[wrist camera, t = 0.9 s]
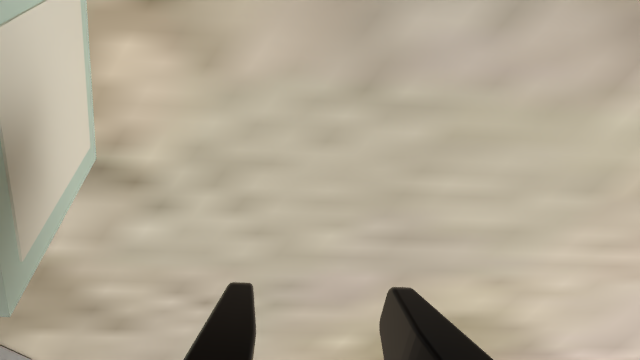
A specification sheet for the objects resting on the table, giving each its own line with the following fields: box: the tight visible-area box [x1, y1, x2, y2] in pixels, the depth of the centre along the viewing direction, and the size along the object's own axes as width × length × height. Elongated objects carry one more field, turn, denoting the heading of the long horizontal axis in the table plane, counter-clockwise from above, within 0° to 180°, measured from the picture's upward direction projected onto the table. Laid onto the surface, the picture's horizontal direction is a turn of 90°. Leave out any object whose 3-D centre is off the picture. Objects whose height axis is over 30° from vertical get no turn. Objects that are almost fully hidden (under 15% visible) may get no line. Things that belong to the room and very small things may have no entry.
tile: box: [0, 0, 96, 317], centre depth 15 cm, size 8×2×9 cm, turn 171°
